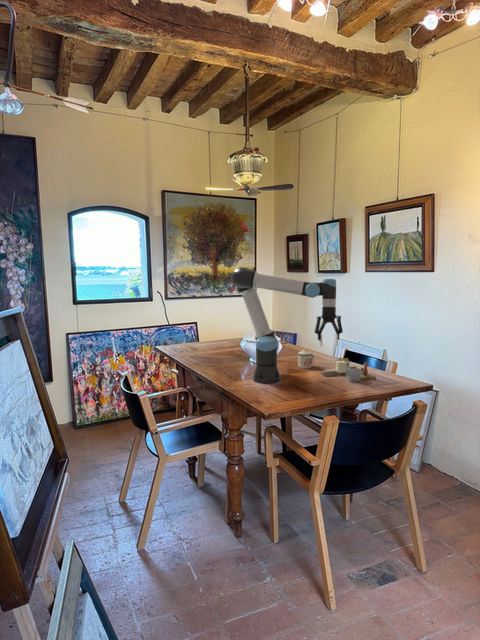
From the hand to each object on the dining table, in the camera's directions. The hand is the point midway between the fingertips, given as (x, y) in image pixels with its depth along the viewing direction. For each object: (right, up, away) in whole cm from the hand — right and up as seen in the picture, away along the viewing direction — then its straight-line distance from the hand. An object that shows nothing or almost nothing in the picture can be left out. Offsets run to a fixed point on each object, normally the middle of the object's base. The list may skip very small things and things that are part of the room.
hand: (328, 345), depth 222 cm
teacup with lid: (-9, -15, +23) cm, 29 cm away
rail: (+10, -17, +4) cm, 20 cm away
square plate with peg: (+20, -18, -5) cm, 27 cm away
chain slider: (+4, -16, +3) cm, 16 cm away
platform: (+14, -16, +18) cm, 28 cm away
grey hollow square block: (+11, -19, -9) cm, 24 cm away
